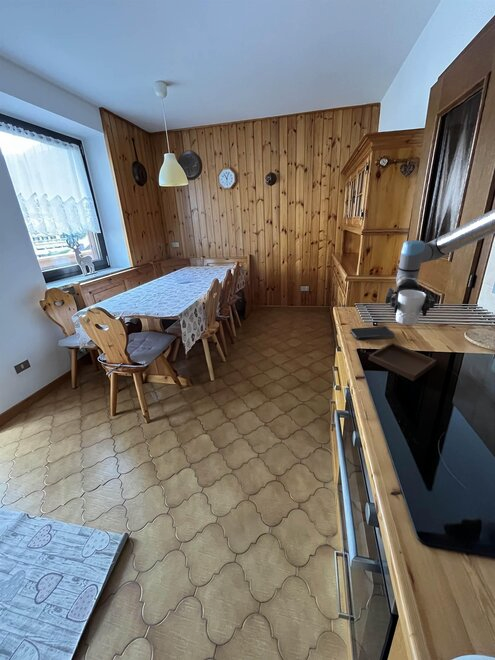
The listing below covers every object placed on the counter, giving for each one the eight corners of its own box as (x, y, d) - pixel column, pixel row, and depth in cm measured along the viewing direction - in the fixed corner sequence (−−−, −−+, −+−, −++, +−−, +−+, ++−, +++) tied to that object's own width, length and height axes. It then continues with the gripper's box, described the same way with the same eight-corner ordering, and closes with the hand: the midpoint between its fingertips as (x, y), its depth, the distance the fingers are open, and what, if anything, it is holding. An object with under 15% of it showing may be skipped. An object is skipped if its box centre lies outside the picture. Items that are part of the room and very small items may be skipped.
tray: (435, 365, 94) (436, 360, 93) (413, 381, 87) (414, 375, 86) (390, 347, 105) (391, 342, 104) (368, 359, 99) (369, 354, 98)
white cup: (407, 314, 102) (413, 288, 97) (424, 323, 95) (432, 295, 90) (388, 318, 100) (393, 291, 95) (405, 327, 93) (411, 299, 88)
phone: (350, 328, 117) (385, 326, 117) (349, 331, 118) (385, 328, 118) (357, 337, 110) (395, 335, 110) (356, 340, 111) (394, 337, 111)
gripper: (436, 299, 107) (445, 325, 88) (377, 294, 115) (374, 317, 96) (441, 280, 103) (451, 302, 85) (380, 276, 111) (377, 296, 93)
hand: (410, 310), depth 91 cm, fingers closed on white cup, 8 cm apart
